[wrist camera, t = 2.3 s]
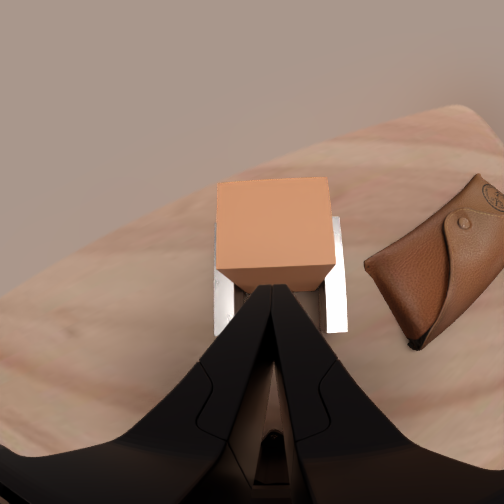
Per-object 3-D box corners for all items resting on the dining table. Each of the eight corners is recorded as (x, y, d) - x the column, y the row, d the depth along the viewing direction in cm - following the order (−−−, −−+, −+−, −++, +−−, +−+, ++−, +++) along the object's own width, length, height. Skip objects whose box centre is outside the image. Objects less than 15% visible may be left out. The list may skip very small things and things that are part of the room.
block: (314, 290, 21) (336, 263, 12) (247, 293, 22) (215, 268, 12) (311, 238, 22) (327, 176, 13) (246, 241, 23) (217, 183, 13)
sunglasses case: (477, 165, 22) (527, 167, 16) (492, 224, 24) (538, 234, 18) (355, 265, 22) (407, 293, 15) (382, 328, 24) (428, 365, 17)
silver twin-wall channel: (334, 329, 21) (347, 331, 16) (229, 333, 22) (214, 335, 17) (329, 238, 22) (339, 216, 18) (229, 243, 23) (214, 222, 19)
